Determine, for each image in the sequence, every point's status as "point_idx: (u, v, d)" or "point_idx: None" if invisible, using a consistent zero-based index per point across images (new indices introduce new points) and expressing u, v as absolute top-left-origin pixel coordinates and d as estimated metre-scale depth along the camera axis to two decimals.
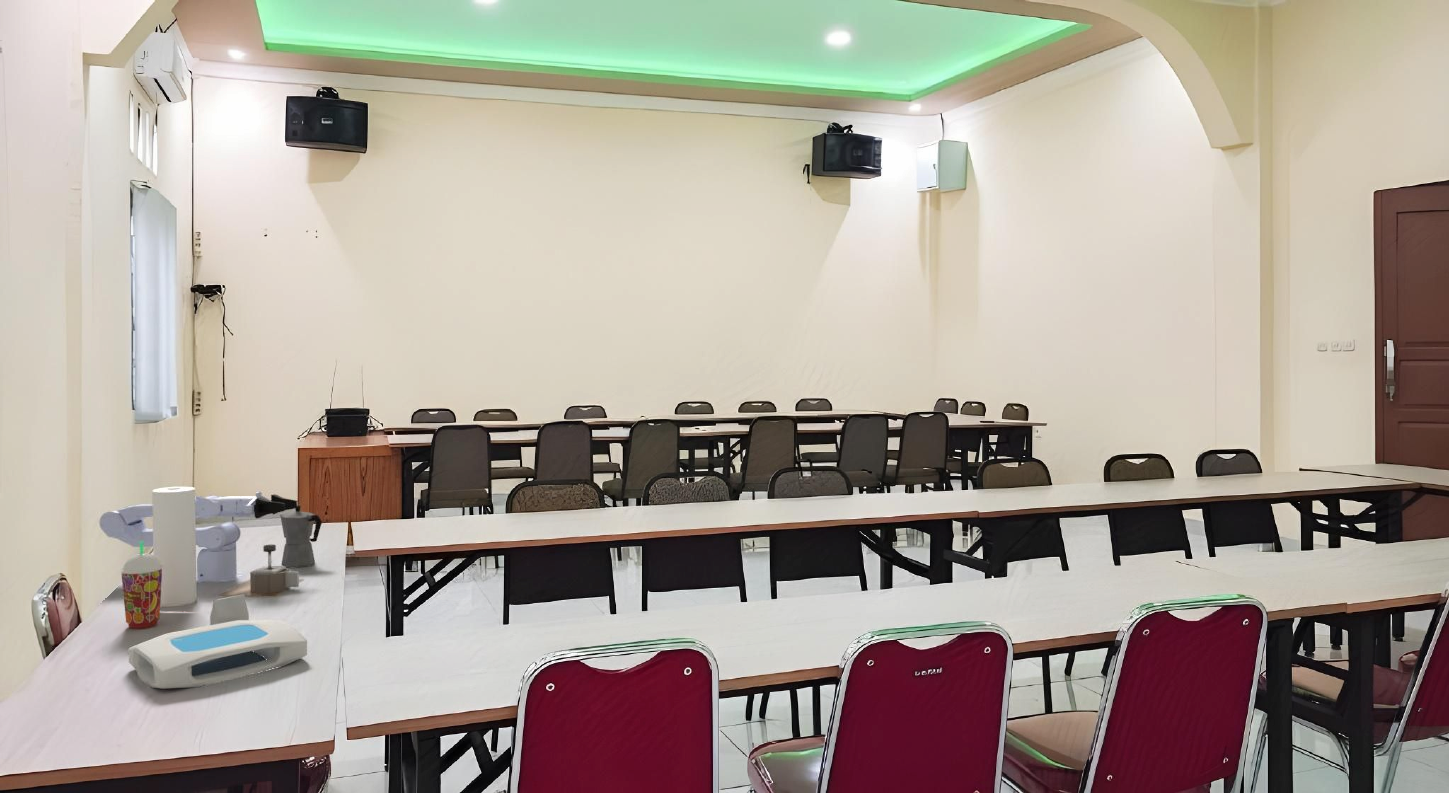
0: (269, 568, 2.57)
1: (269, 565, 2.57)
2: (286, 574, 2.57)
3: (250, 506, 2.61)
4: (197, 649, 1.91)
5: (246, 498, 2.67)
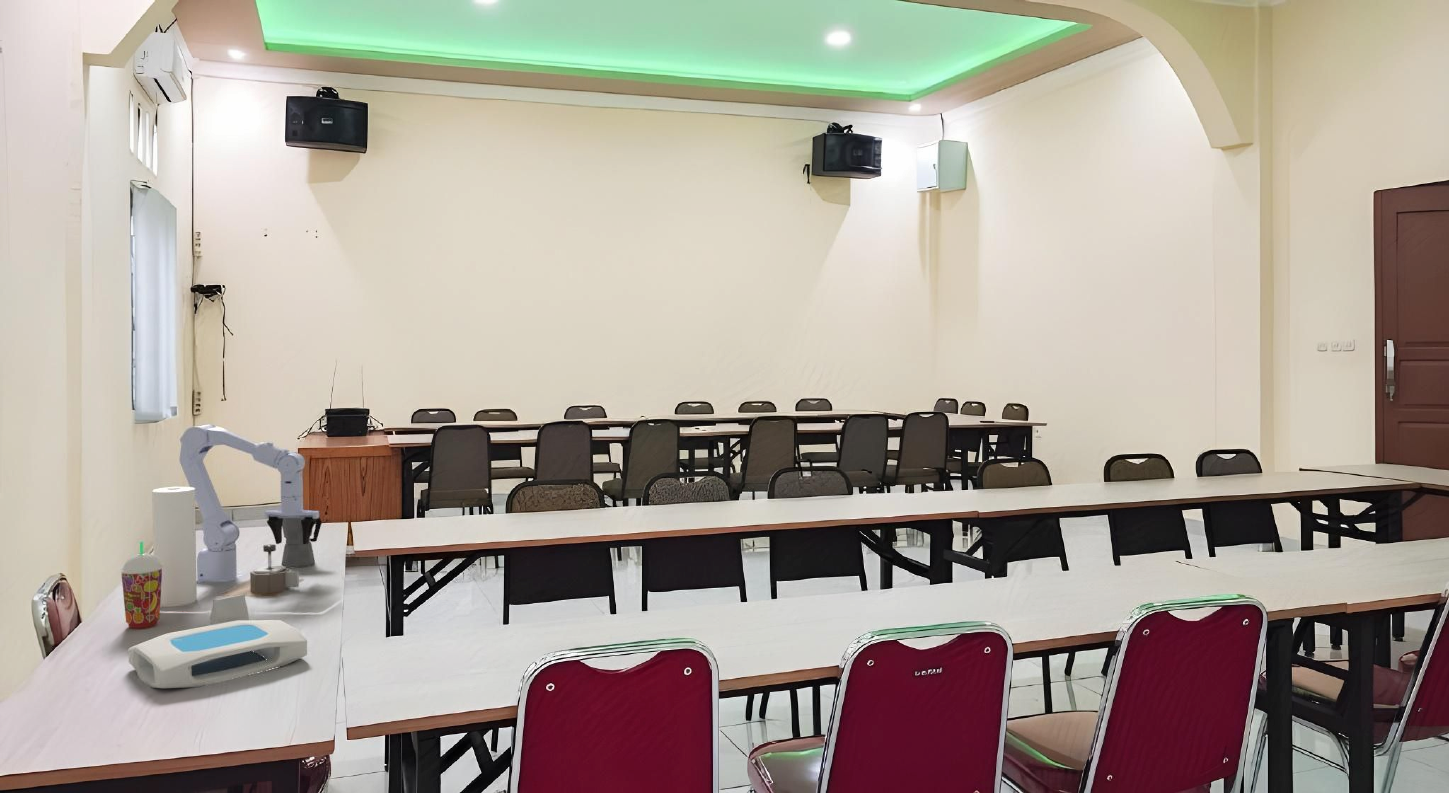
0: (269, 568, 2.57)
1: (269, 565, 2.57)
2: (286, 574, 2.57)
3: (318, 516, 2.71)
4: (197, 649, 1.91)
5: None
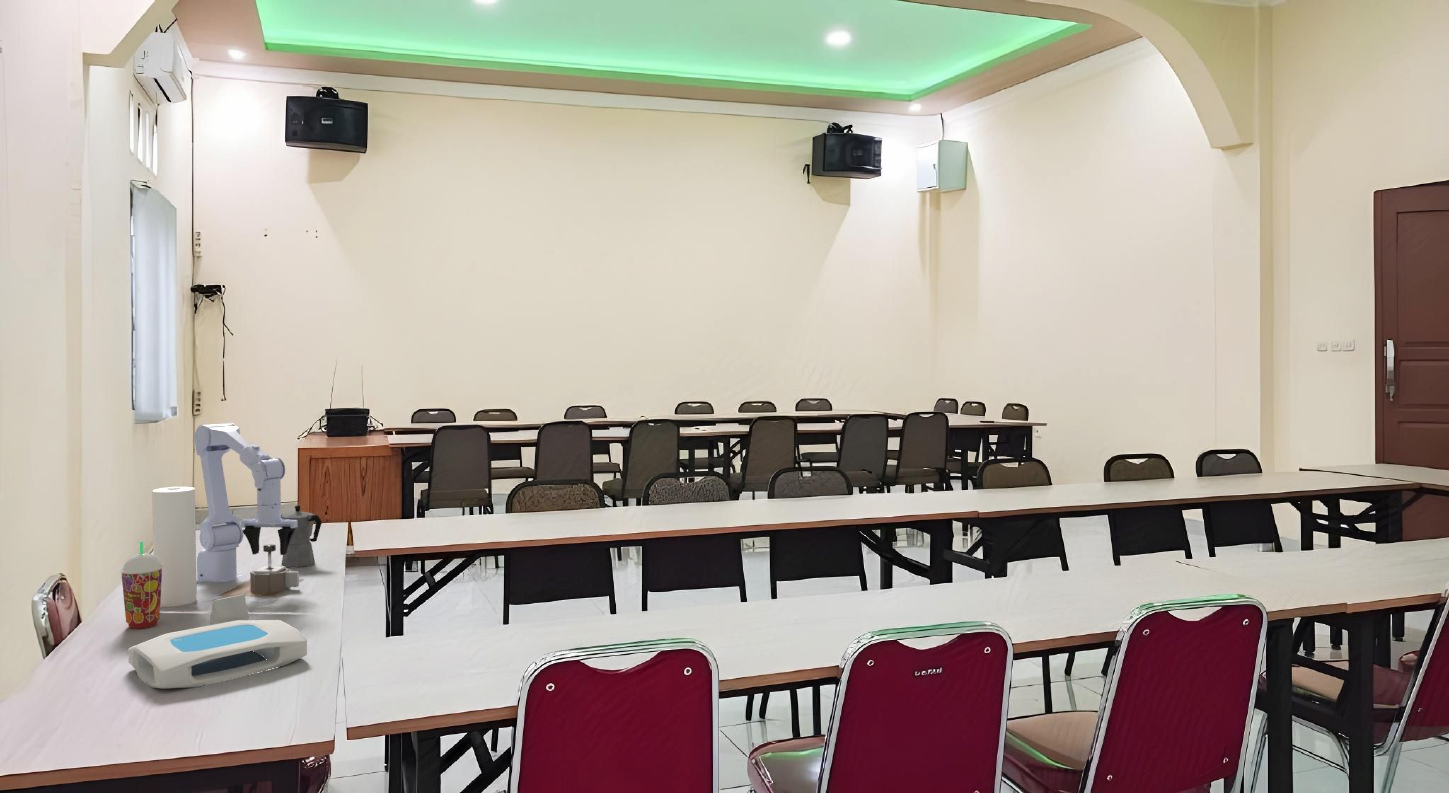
0: (269, 568, 2.57)
1: (269, 565, 2.57)
2: (286, 574, 2.57)
3: (297, 525, 2.57)
4: (197, 649, 1.91)
5: None
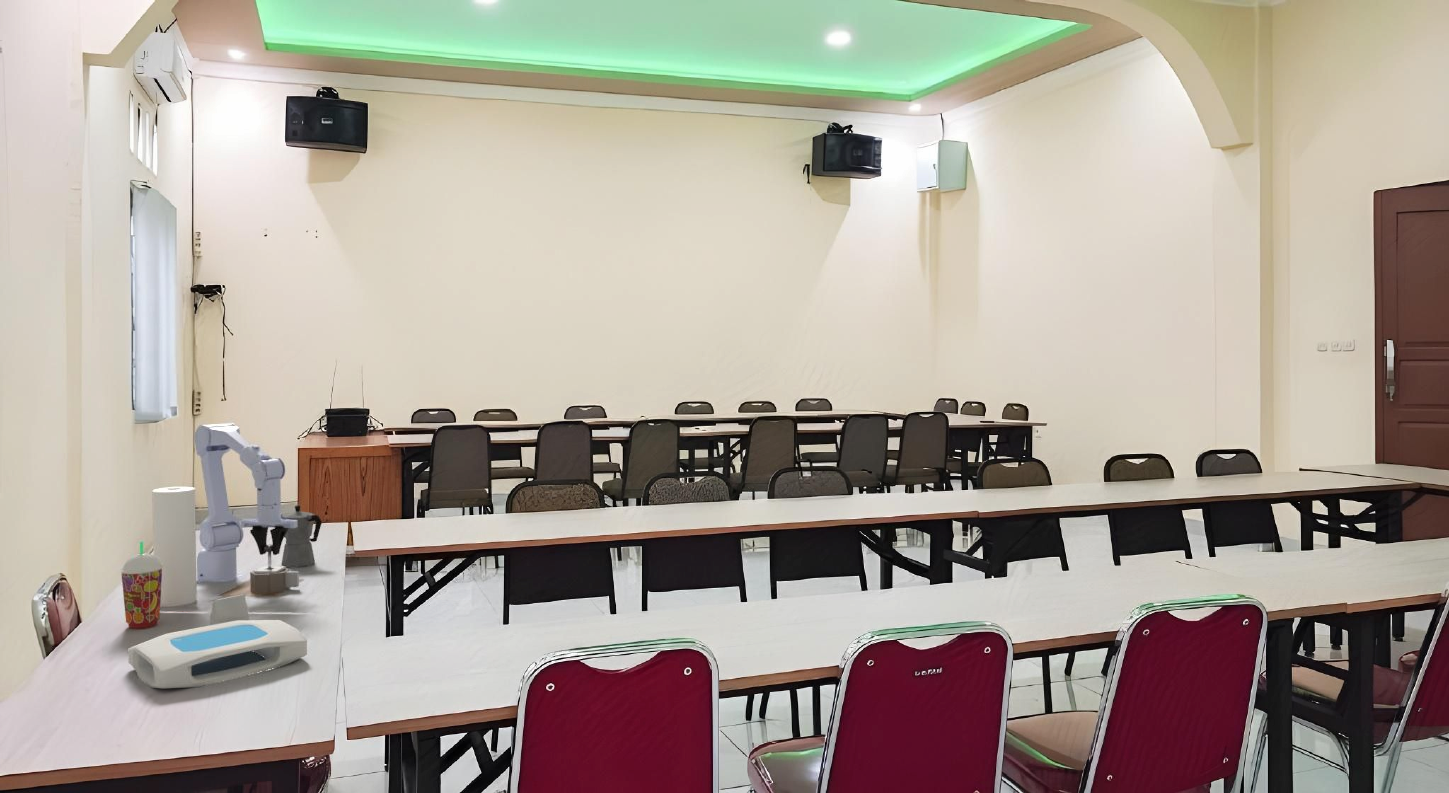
0: (269, 568, 2.57)
1: (269, 565, 2.57)
2: (286, 574, 2.57)
3: (297, 525, 2.57)
4: (197, 649, 1.91)
5: None
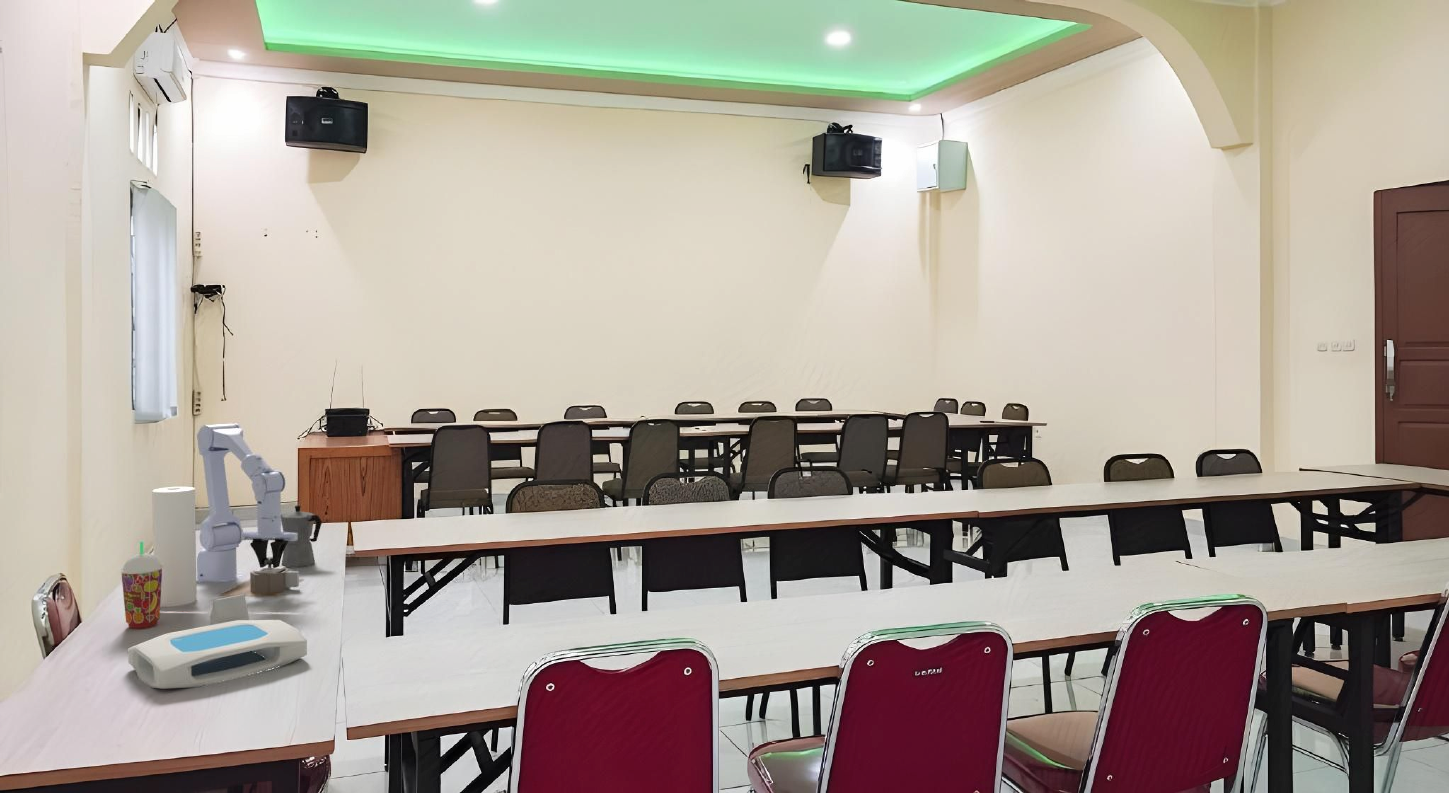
0: None
1: None
2: (286, 574, 2.57)
3: (297, 538, 2.57)
4: (197, 649, 1.91)
5: None
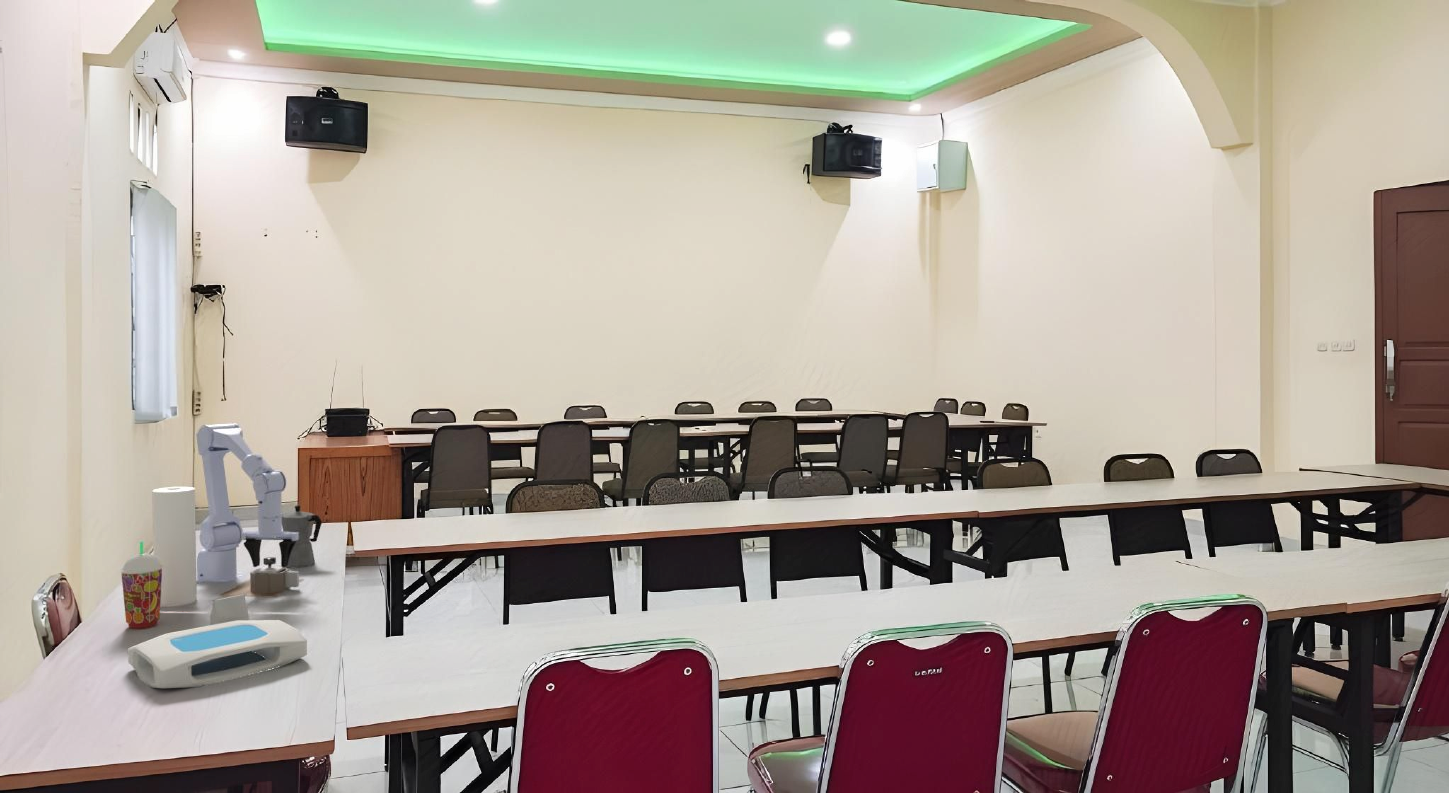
0: None
1: None
2: (286, 574, 2.57)
3: (298, 538, 2.58)
4: (197, 649, 1.91)
5: None
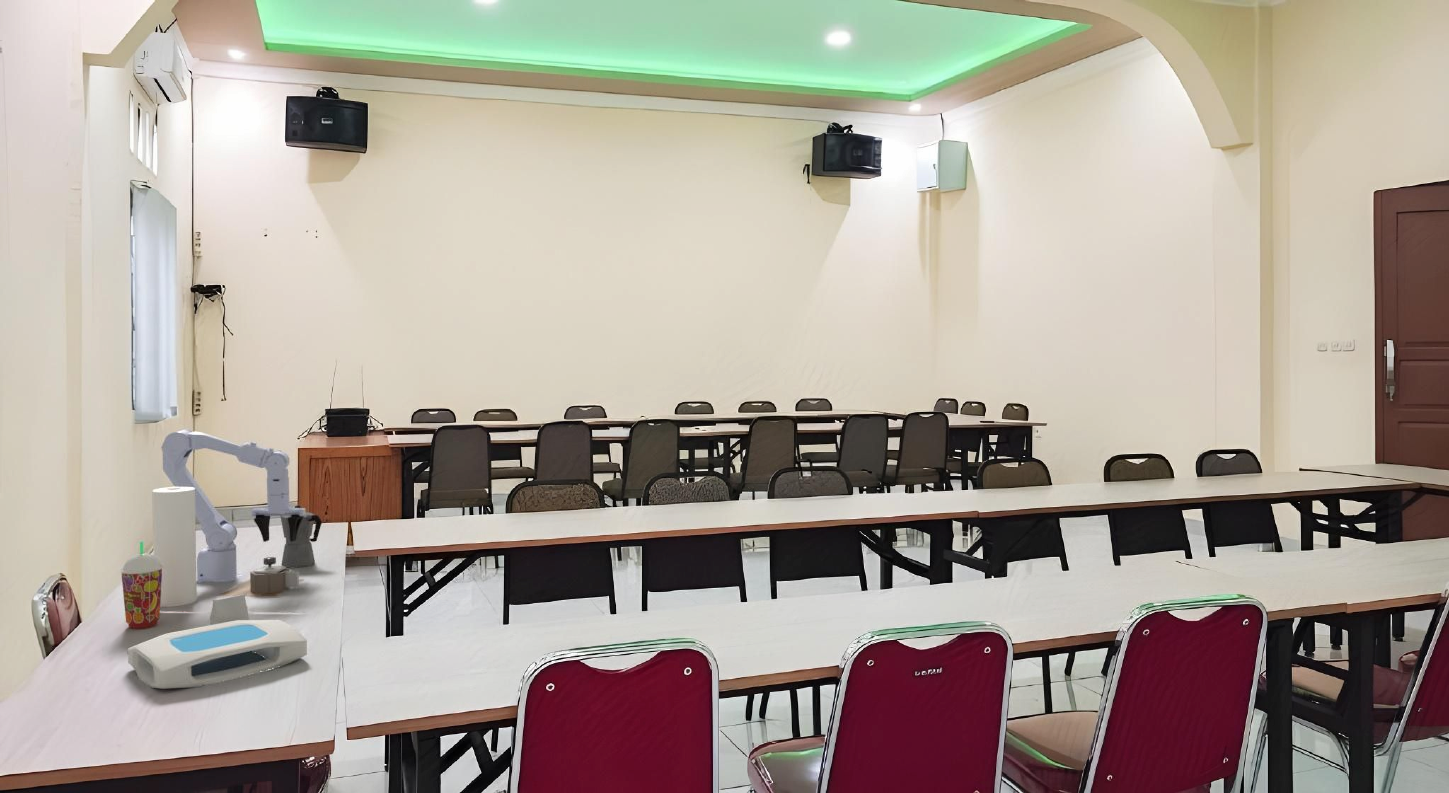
0: None
1: None
2: (286, 574, 2.57)
3: (305, 513, 2.73)
4: (197, 649, 1.91)
5: None
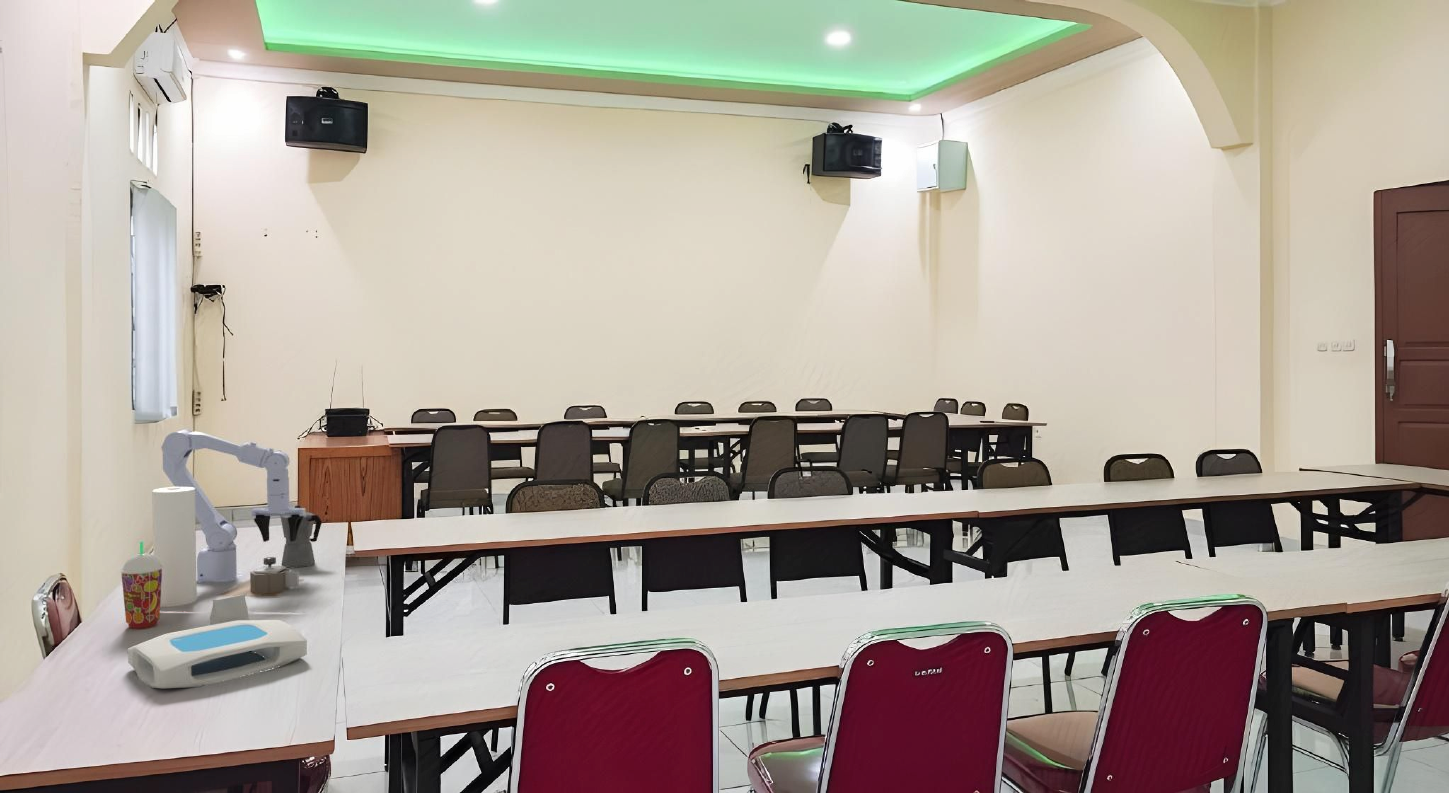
0: None
1: None
2: (286, 574, 2.57)
3: (305, 513, 2.73)
4: (197, 649, 1.91)
5: None
